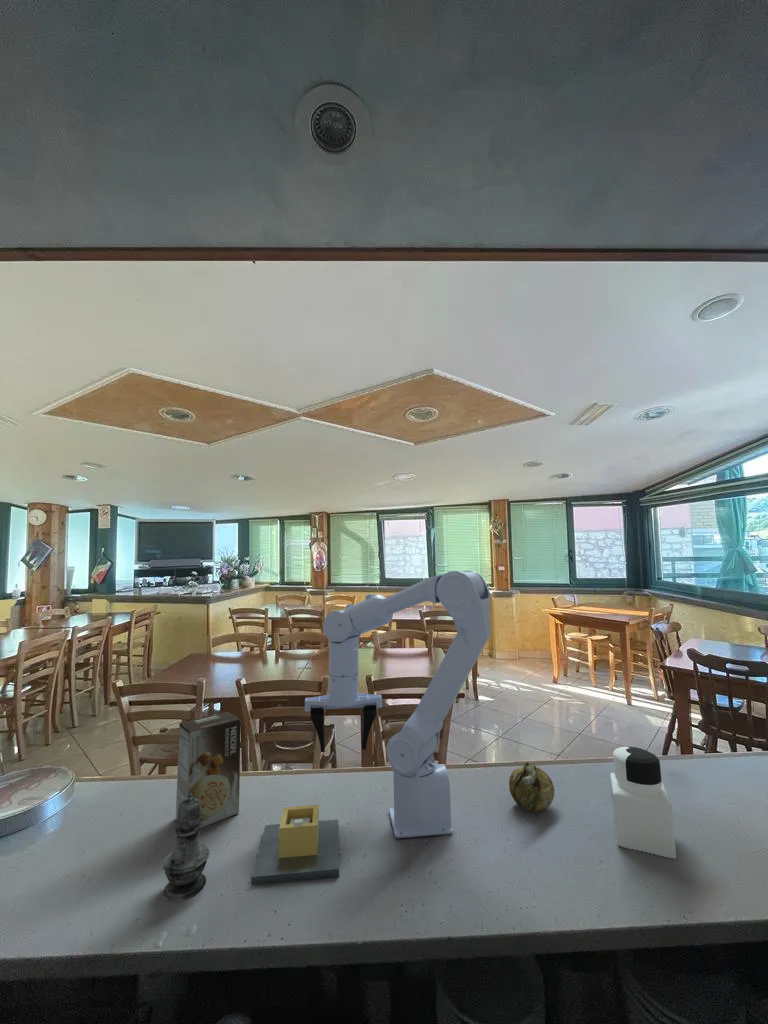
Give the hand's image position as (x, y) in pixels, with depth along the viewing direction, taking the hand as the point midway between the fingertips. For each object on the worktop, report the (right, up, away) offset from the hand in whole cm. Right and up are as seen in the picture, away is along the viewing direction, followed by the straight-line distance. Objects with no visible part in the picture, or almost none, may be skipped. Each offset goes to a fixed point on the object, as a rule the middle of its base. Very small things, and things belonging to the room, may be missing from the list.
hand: (343, 748), depth 79 cm
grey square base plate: (-5, -8, -15) cm, 18 cm away
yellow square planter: (-5, -7, -14) cm, 17 cm away
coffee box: (-24, -9, -5) cm, 26 cm away
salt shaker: (-20, -7, -22) cm, 30 cm away
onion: (+35, -9, -3) cm, 36 cm away
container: (+49, -8, -13) cm, 51 cm away
